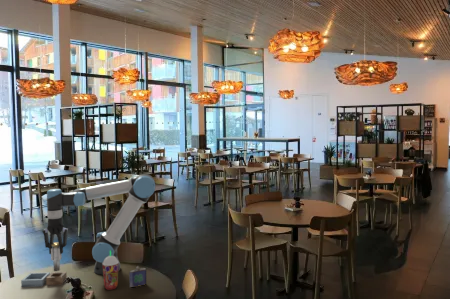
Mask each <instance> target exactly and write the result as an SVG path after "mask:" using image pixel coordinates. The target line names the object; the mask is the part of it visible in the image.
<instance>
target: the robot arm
mask: <svg viewBox="0 0 450 299" xmlns="http://www.w3.org/2000/svg"><path fill="white" fill-rule="evenodd" d="M155 191H156V181H155V178H154V177H153V176H152V175H151V174H148V173H142V174H139V175H135V176H131V177H129V179H125V180H120V181H119V180H118V181H114V182H108V183H104V184H103V183H102V184H97V185H93V186H87V187H82V188H80V187H78V188H76V189H74V190H72V191H71V192H62V189H60V188H51V189H49V190H47V192H46V207H47V209H46V210H47V226H46V228H44V229H42V233H43V239H44V244H45V245H44V246H45V248H48V249H49V250H48V252H49V255H50V258H51V259H50V260H51V261H53V246H51V244H52V243H54V240H55V235H56V238H57V242H59V248H58V260H60V261H61V260H62V257H63V256H62V254H64V247H66V246H67V245H68V244H67V242H68V241H67V240H68V231H69V228H68V227H67V228H66V227H64V223H63V221H64V220H63V218H64V217H63V207H79V206H80V207H81V206H82V207H83V206H84V205H86V202H87V201H90V200H96V199H100V198H107V197H111V196H117V195H122V194H126V193H128V197H127V199H126V200H125V202H124V204H123V205H122V207H121V208H120V210H118V213H117V214H116V216H115V218H114V219H113V221H112V222H111V224H110V225H109V227H108V229H107V230H106V231H101V232H97V233H96V242H95V244H94V245H93V247H92V250H91V254H92V255H91V256H92V258H93V260H95V264H94V266H93V267H94V268H93V269H94V270H93V272H94V273H95V274H97V275H103V264H102V263H103V261H104V259H105V258H106V257H107V256H110V251H111V256H115V257H116V258H117V260H118V261H119V266H118V272H119V271H120V270H121V269H120V268H121V263H120V260H119V257H118V248H119V246H120V245H121V241H120V240H121V238H122V236H123V235H124V234H125V231H126V230H127V229H128V227H129V225H130V224H131V222H132V221H133V219H134V218H135V216H136V215H137V213H138V211H139V209H140V208H141V207H142V205H143V204H145V203H146V204H147V202H148V200H149V199H150V197H151V196H152V195H153V194H154V193H155ZM62 232H63V234H62ZM49 234H50V235H49ZM62 235H63V236H62ZM49 236H50V237H49Z"/></svg>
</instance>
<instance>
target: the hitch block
mask: <svg viewBox="0 0 450 299" xmlns="http://www.w3.org/2000/svg"><path fill="white" fill-rule="evenodd" d="M66 278H67V271H52V272H50V275H49V276H48V277H47V278H46V283H45V285H47V286H52V285H54V286H56V285H58V286H60V285H63V284H64V282H65V281H66V280H67V279H66ZM65 279H66V280H65Z"/></svg>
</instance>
